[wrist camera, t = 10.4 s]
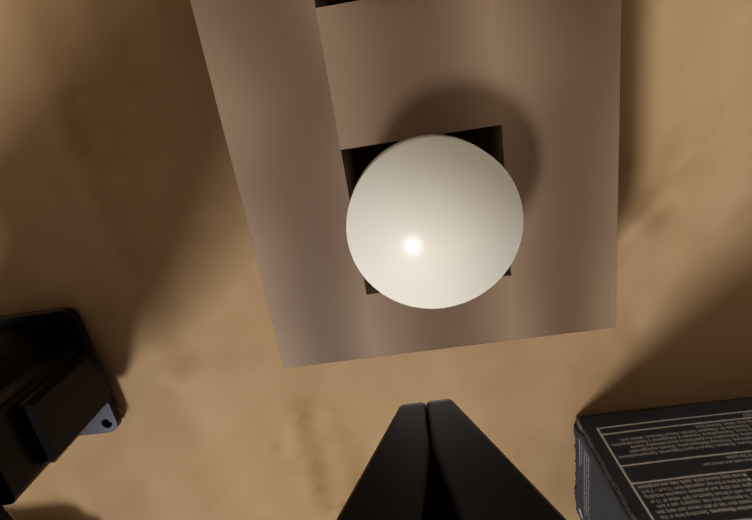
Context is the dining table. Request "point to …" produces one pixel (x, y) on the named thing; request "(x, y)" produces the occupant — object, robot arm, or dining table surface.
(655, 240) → the dining table surface
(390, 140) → the mount
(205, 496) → the dining table surface
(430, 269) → the knob
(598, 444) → the small box
